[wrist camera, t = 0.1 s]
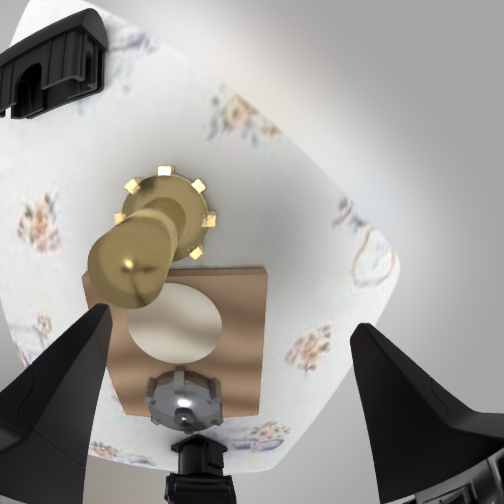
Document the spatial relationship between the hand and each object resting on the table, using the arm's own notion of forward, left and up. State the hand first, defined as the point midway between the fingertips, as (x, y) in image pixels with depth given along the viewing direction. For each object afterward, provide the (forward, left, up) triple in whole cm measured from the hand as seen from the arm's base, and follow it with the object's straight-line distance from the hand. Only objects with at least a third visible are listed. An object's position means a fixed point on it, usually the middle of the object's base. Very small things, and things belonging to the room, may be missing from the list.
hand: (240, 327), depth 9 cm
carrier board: (-13, -7, -15) cm, 21 cm away
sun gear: (-16, -11, -14) cm, 24 cm away
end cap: (-1, +22, -16) cm, 27 cm away
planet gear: (-3, +4, -15) cm, 16 cm away
